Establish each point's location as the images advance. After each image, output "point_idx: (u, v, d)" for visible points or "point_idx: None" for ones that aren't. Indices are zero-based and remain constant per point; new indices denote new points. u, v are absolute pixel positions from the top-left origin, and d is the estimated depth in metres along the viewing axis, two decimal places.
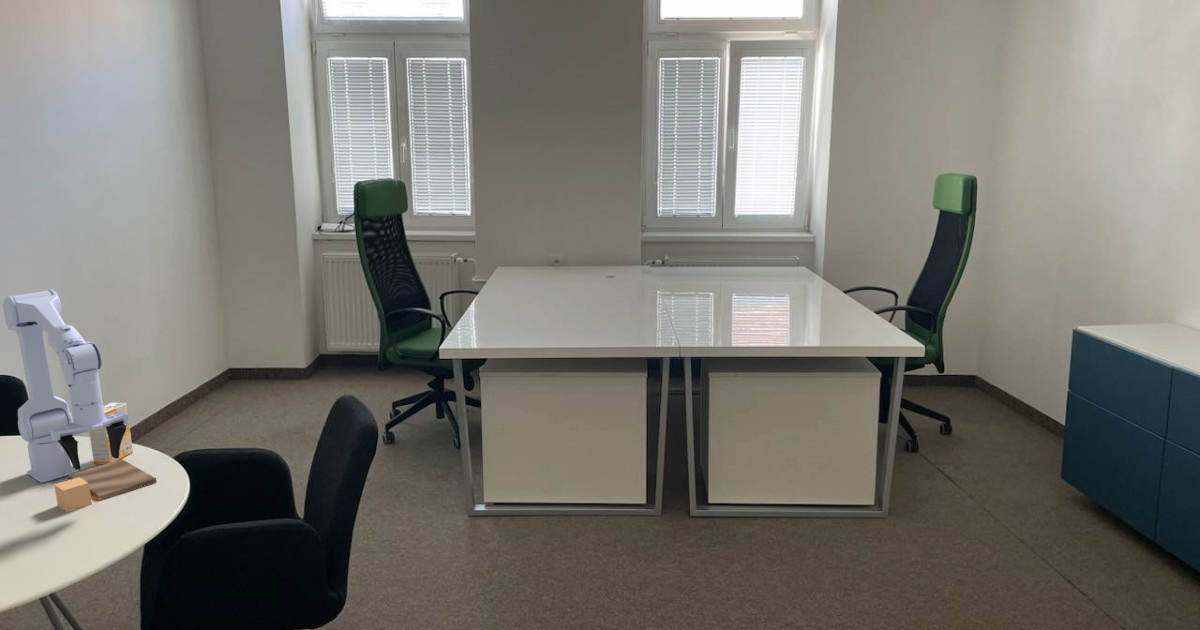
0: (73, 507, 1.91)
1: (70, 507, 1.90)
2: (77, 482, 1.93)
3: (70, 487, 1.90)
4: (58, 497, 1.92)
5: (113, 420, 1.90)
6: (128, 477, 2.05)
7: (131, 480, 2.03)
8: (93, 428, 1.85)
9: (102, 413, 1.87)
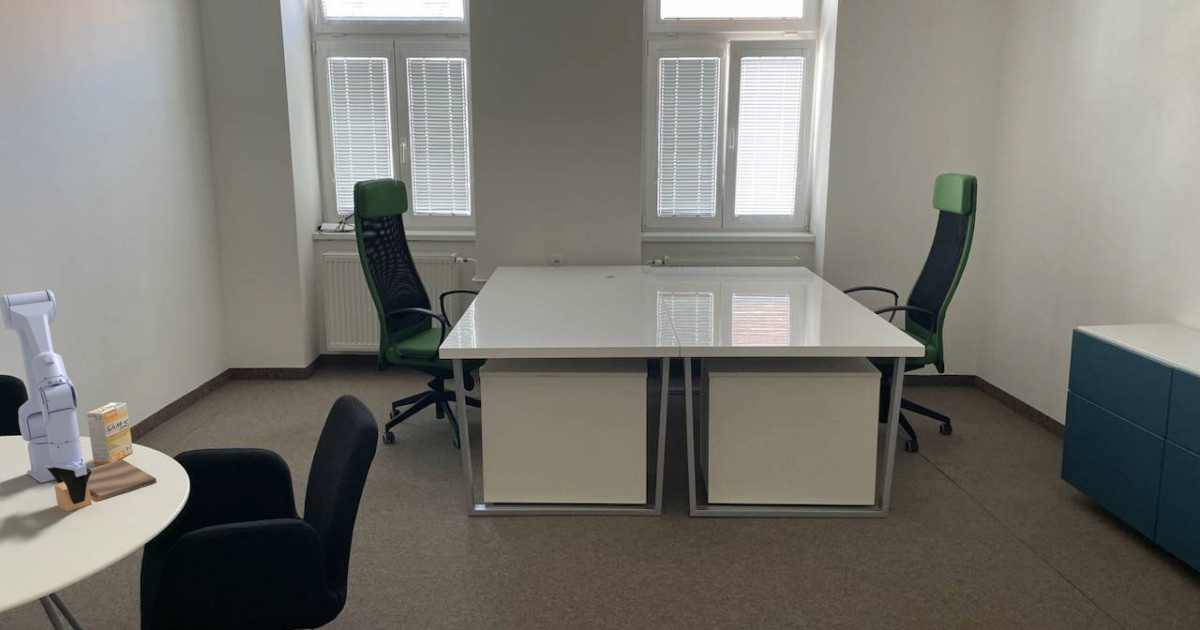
0: (73, 507, 1.91)
1: (70, 507, 1.90)
2: None
3: None
4: (58, 497, 1.92)
5: (65, 467, 1.87)
6: (128, 477, 2.05)
7: (131, 480, 2.03)
8: None
9: (58, 456, 1.88)
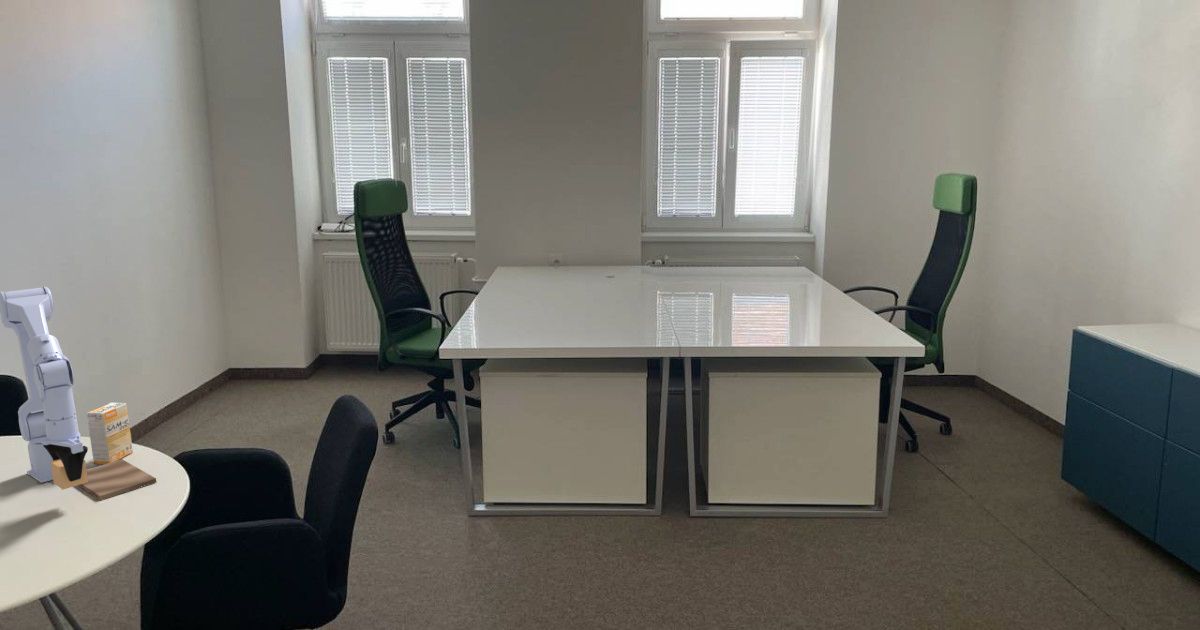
0: (69, 484, 1.90)
1: (66, 484, 1.89)
2: None
3: None
4: (54, 474, 1.91)
5: (61, 444, 1.86)
6: (128, 477, 2.05)
7: (131, 480, 2.03)
8: None
9: (55, 433, 1.87)
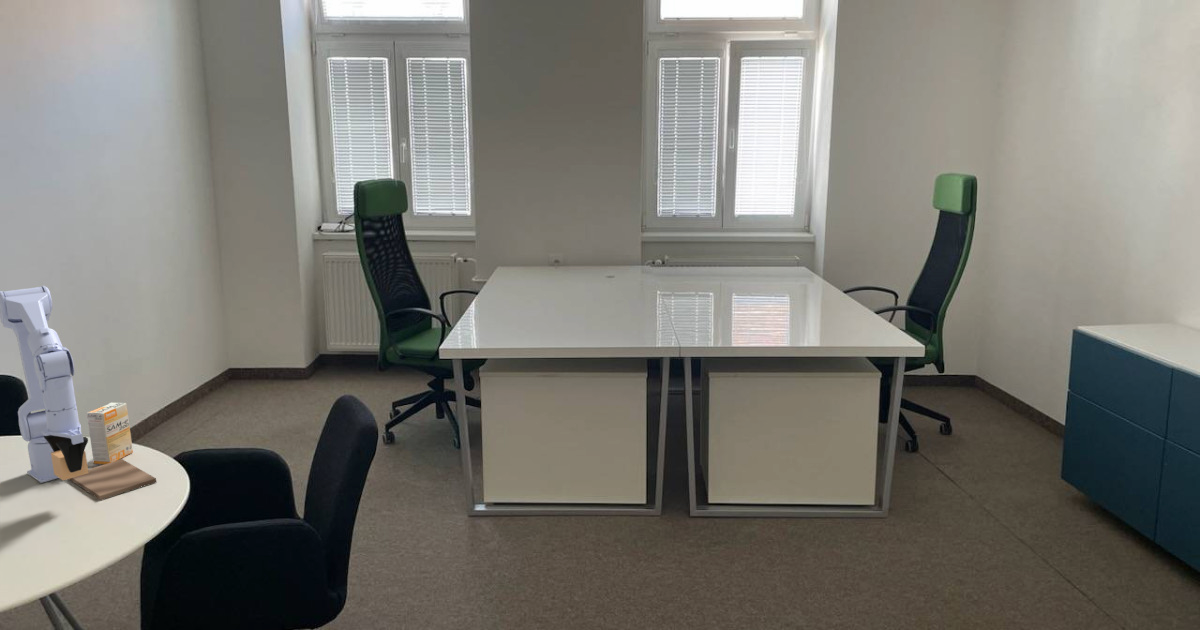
0: (70, 475, 1.90)
1: (67, 475, 1.89)
2: None
3: None
4: (54, 465, 1.91)
5: (61, 435, 1.86)
6: (128, 477, 2.05)
7: (131, 480, 2.03)
8: None
9: (55, 423, 1.87)
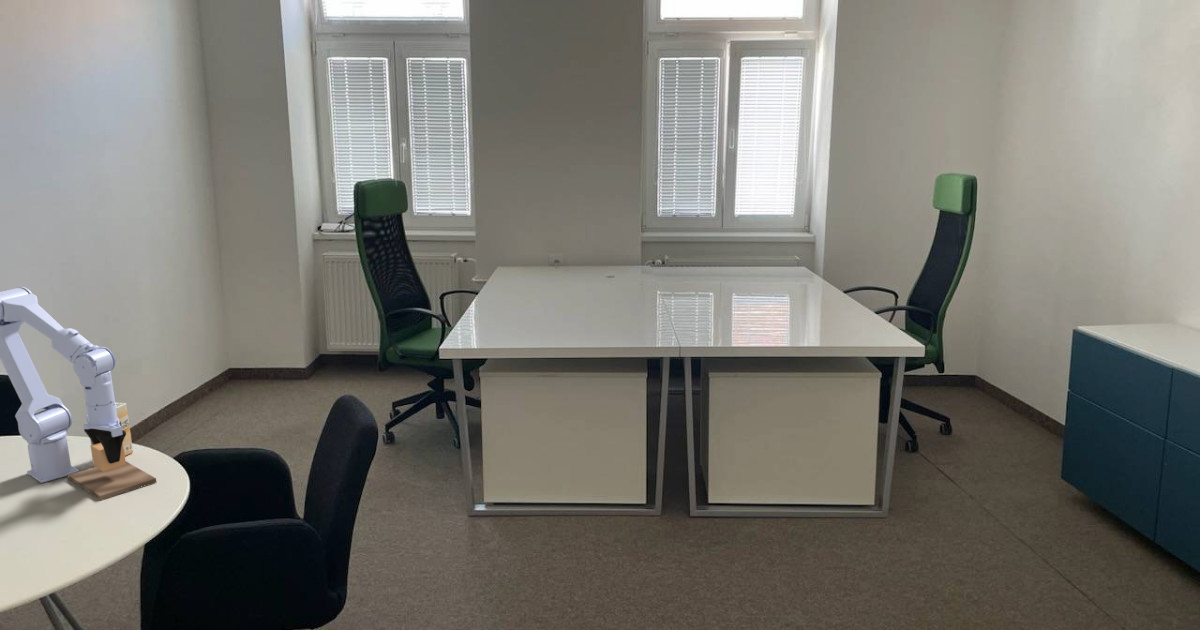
0: (109, 466, 2.02)
1: (106, 466, 2.02)
2: None
3: None
4: (94, 457, 2.03)
5: (102, 428, 1.99)
6: (128, 477, 2.05)
7: (131, 480, 2.03)
8: None
9: (95, 417, 1.99)
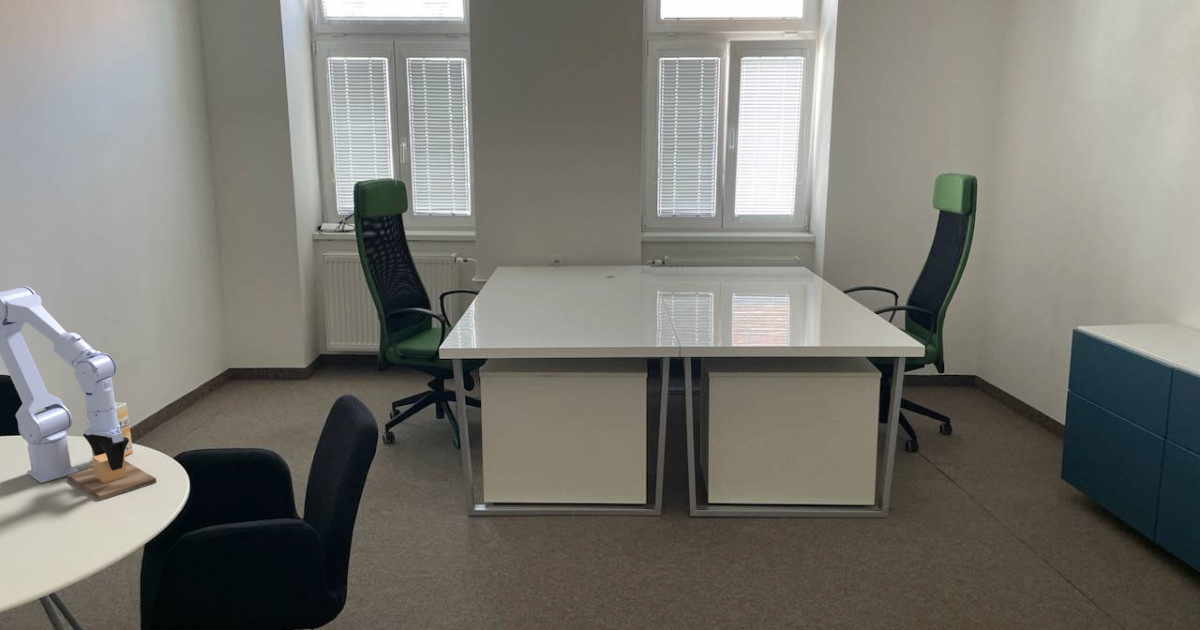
0: (110, 478, 2.03)
1: (107, 478, 2.02)
2: None
3: (107, 459, 2.02)
4: (95, 469, 2.04)
5: (103, 434, 1.99)
6: (128, 477, 2.05)
7: (131, 480, 2.03)
8: None
9: (96, 423, 1.99)
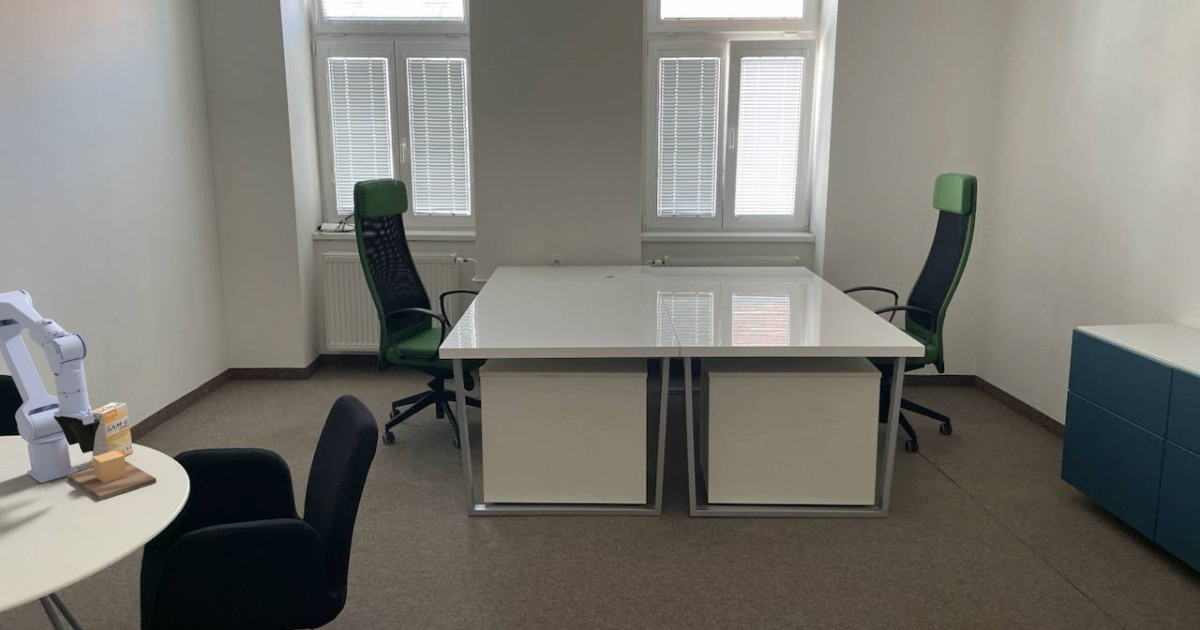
0: (110, 478, 2.03)
1: (107, 478, 2.02)
2: (114, 455, 2.05)
3: (107, 459, 2.02)
4: (95, 469, 2.04)
5: (73, 416, 1.95)
6: (128, 477, 2.05)
7: (131, 480, 2.03)
8: None
9: (66, 405, 1.95)
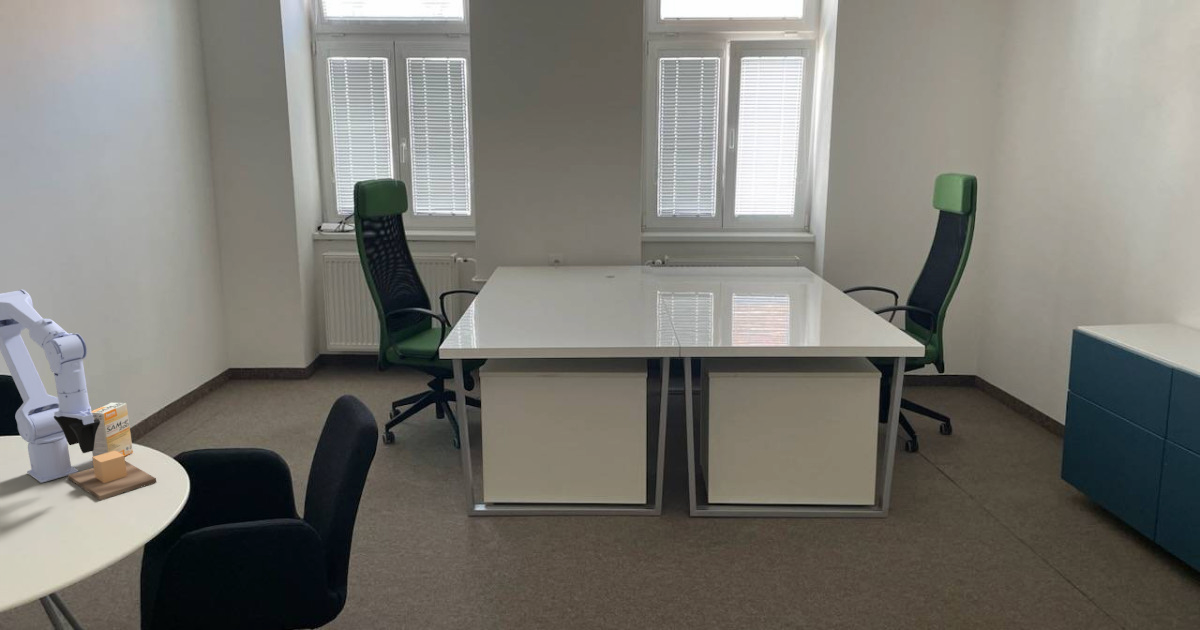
0: (110, 478, 2.03)
1: (107, 478, 2.02)
2: (114, 455, 2.05)
3: (107, 459, 2.02)
4: (95, 469, 2.04)
5: (73, 416, 1.95)
6: (128, 477, 2.05)
7: (131, 480, 2.03)
8: None
9: (66, 405, 1.95)
